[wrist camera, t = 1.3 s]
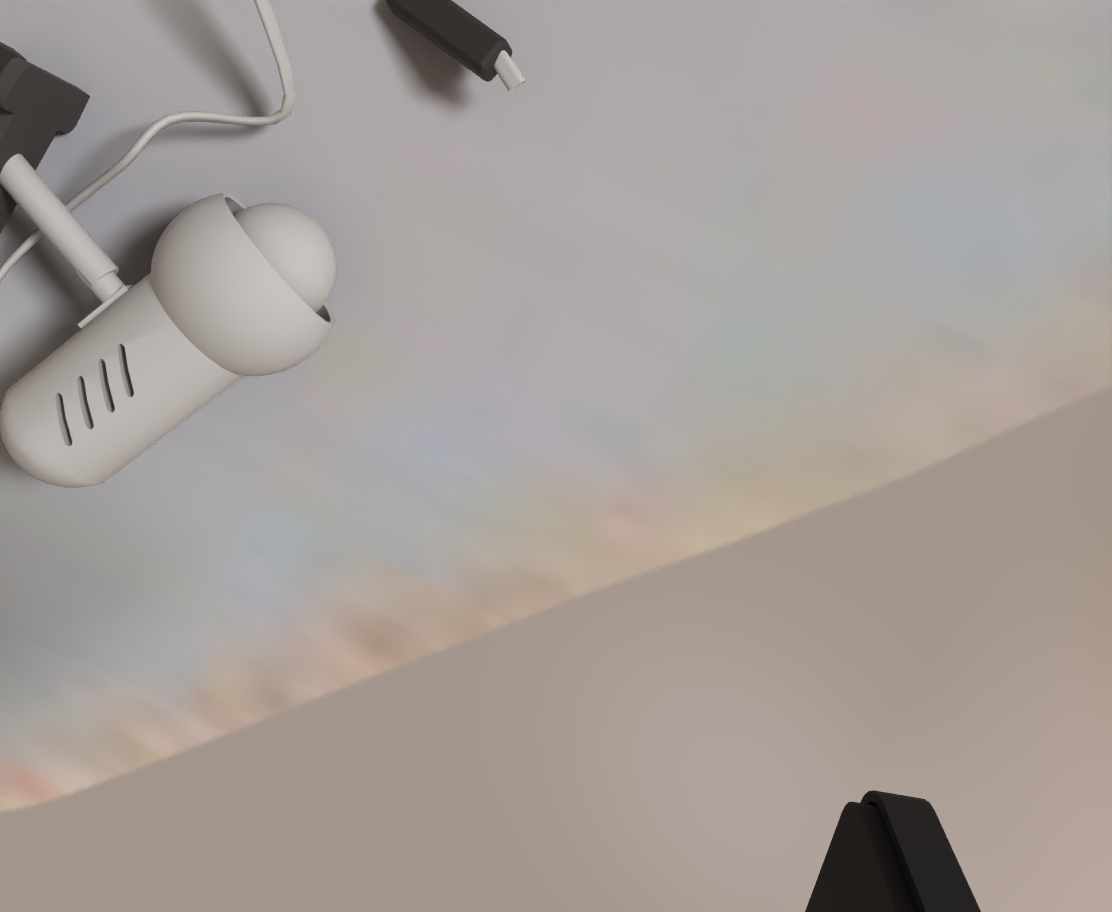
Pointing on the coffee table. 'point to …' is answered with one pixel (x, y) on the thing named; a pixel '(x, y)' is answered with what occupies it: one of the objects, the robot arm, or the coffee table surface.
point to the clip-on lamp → (173, 276)
